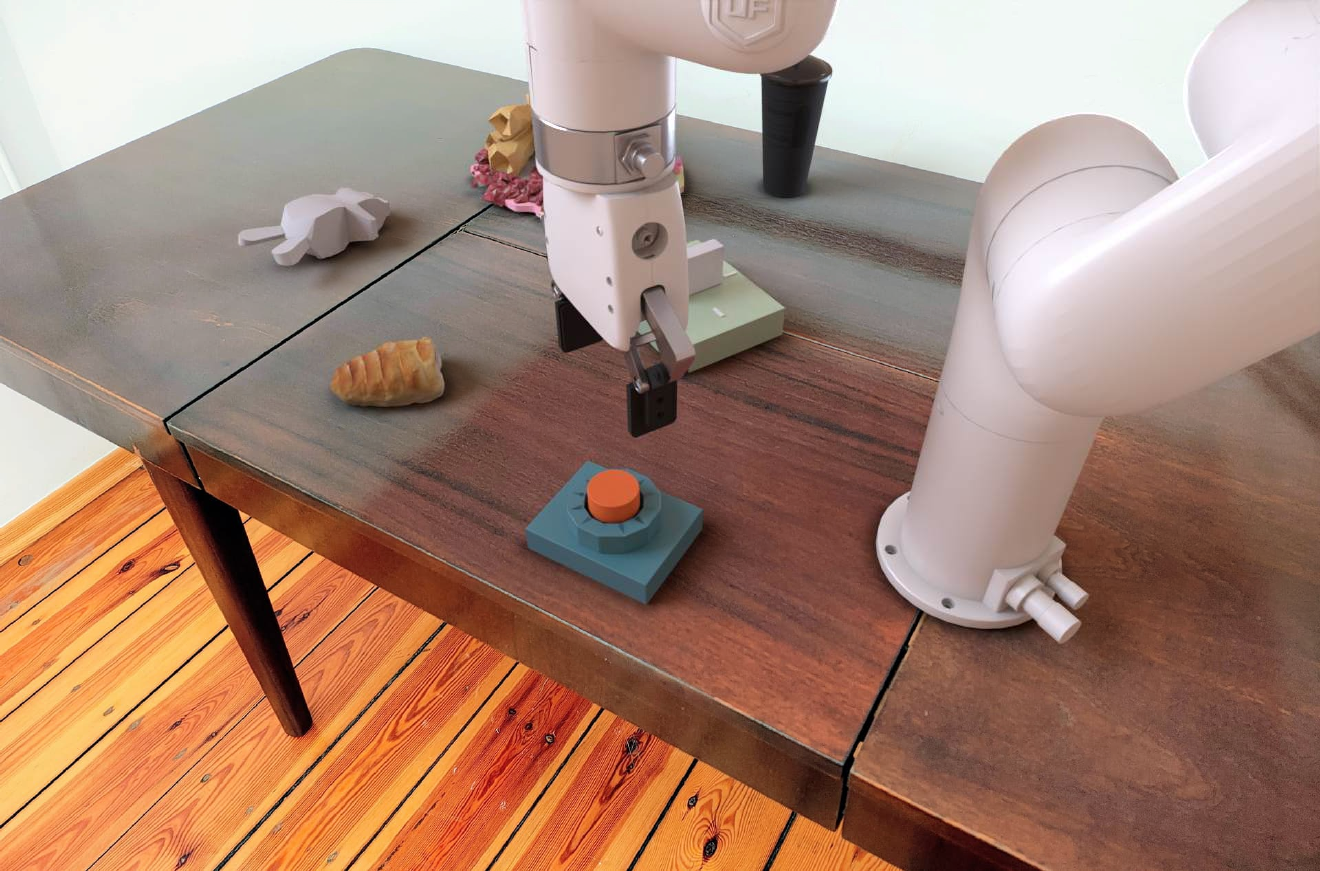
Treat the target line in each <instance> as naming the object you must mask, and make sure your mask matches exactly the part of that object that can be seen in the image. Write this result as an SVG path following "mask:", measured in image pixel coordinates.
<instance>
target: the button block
mask: <svg viewBox="0 0 1320 871" xmlns="http://www.w3.org/2000/svg"><path fill="white" fill-rule="evenodd" d="M607 470H622V471H625V472H628V473H630V474H631V475H633V476H634V477H635V478H636V480H637V481H638V483H639V492H640V507H639V510H638V512H637V513H636V514H635V516H634V517H632V518H631V519H629V520H627V521H625V522H622V523H617V524H610V523H605V522H602V521H599V520H597V519H596V518H595V517H594V516H593V515H592V514H591V512H590V510H589V506H588V494H587V487H588V484H589V482H590V480H591V479H592V478H593V477H594V476H595V475H597V474H599V473H601V472H603V471H607ZM703 516H704V508H702V507H699V506H697V505H695V504H692V503H690V502H688V501H685V500H682V499H681V498H679V497H676V496H674V495H670V494H668V493H666V492H664V491H661V490H659V488H658V487H657V486H656V485H655V484H654V483H653V481H652V480H651V479H650V477H648V476H647V475H643V474H641V473H639V472H637V471H634V470H631V469H630V468H607V467H604V466H602V465H600V464H597V463H595V462H592V461H590V460H587V461H586V462H585V463H584V464H583V465H582V466H581V467H580V468H579V469H578V470H577V471H576V472H575V473H574V475H573V476H572V477H571V478H570V479H569V480H567V482H566V483H565V485H563V487H562V488H561V489H560V490H559V491H558V492H557V493H556V495H555V496H553V498H551V500H550V501H549V502H547V504H546V505H545V506H544V507H543V508H542V510H541V511H540V512H538V514H537V515H536V516H535V517H534V518H533V519H532V520H531V521H530V523H529V524H528V525H526V527H525V536H526V542H527V549H529V550H531V551H533V552H535V553H537V554H539V555H541V556H543V557H545V558H548V559H550V560H552V561H554V562H556V563H558V564H560V565H562V566H564V567H566V568H569V569H570V570H572V571H574V572H577V573H578V574H580V575H583V576H585V577H587V578H589V579H591V580H594V581H595V582H598V583H599V584H602V585H604V586H606V587H608V588H611V589H613V590H614V591H617V592H618V593H621V594H623V595H625V596H627V597H629V598H631V599H634V600H635V601H638V602H640V603H642V604H643V605H648V604H649V603H650V601H651V600H652V598H653V597H654V596H655V594H656V593H657V592H658V590H659V589H660V588H661V586H662V585H663V583H664V582H665V581H666V579H667V578H668V577H669V575H670V574H671V572H672V571H673V570H674V568H675V567H676V565H677V564H678V563H679V561H681V559H682V558H683V557H684V555H685V554H686V552H687V551H688V549H689V548H690V546H691V545H692V544H693V542H694V541H695V540H696V538H697V537H698V535H699V534H700V533H701V532H702V530H703V521H704V520H703V518H704V517H703Z"/></svg>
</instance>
